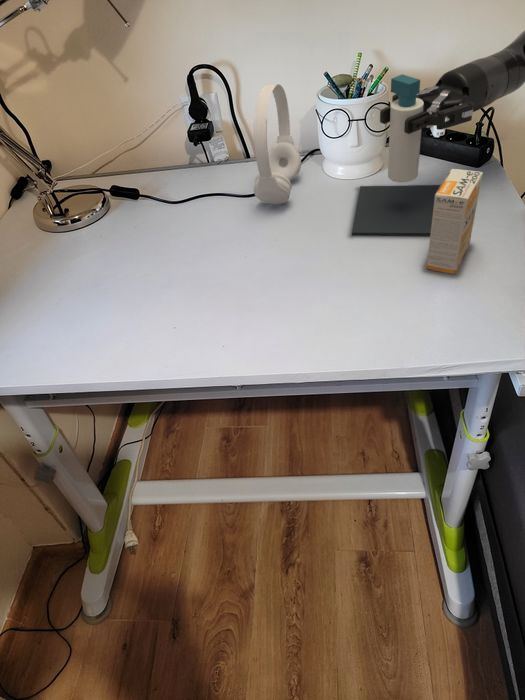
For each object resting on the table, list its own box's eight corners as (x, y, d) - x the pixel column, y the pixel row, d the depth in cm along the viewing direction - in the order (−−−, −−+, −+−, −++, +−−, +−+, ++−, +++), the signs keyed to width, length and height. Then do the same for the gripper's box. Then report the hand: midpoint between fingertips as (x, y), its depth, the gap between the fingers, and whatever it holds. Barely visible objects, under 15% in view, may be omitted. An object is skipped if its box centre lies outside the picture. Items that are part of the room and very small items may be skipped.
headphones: (252, 216, 98) (233, 111, 84) (273, 170, 110) (260, 71, 96) (288, 217, 96) (275, 109, 82) (305, 170, 108) (297, 68, 94)
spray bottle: (424, 174, 87) (432, 78, 76) (401, 185, 86) (407, 88, 74) (403, 164, 90) (408, 71, 79) (381, 175, 89) (384, 81, 78)
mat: (446, 187, 96) (446, 184, 95) (447, 236, 85) (448, 233, 85) (360, 188, 100) (360, 186, 100) (351, 235, 89) (351, 232, 89)
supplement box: (456, 275, 78) (469, 199, 69) (425, 269, 80) (433, 194, 71) (470, 246, 83) (484, 170, 73) (440, 240, 85) (450, 166, 76)
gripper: (441, 54, 87) (363, 86, 82) (512, 72, 77) (429, 109, 73) (437, 100, 92) (363, 132, 87) (502, 121, 83) (424, 159, 78)
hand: (394, 122), depth 80 cm, fingers closed on spray bottle, 5 cm apart
